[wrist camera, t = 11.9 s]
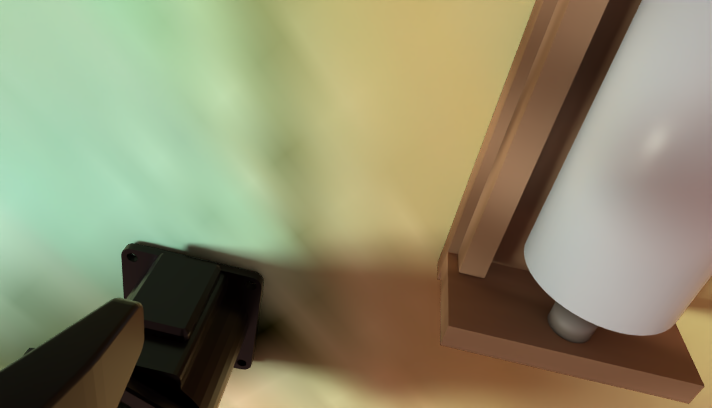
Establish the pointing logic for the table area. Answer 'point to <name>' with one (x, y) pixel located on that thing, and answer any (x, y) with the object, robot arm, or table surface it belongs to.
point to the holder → (523, 205)
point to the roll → (637, 182)
